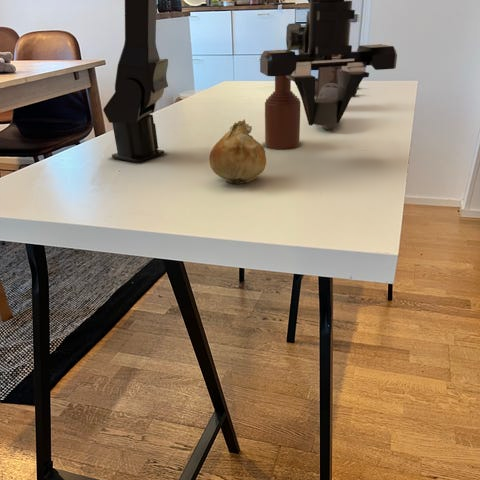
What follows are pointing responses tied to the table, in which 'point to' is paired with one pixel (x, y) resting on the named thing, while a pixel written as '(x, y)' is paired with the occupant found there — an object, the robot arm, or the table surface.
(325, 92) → the perforated stone tool
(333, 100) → the cap
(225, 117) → the table surface
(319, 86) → the box
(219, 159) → the onion
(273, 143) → the bottle
